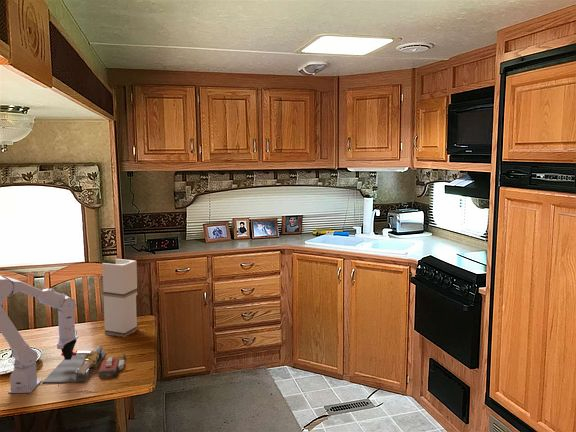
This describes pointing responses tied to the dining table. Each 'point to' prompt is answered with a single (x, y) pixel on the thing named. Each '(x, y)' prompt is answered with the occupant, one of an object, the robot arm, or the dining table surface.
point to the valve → (89, 362)
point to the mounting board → (69, 371)
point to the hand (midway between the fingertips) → (68, 359)
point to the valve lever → (80, 353)
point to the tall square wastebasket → (120, 297)
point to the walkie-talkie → (111, 367)
